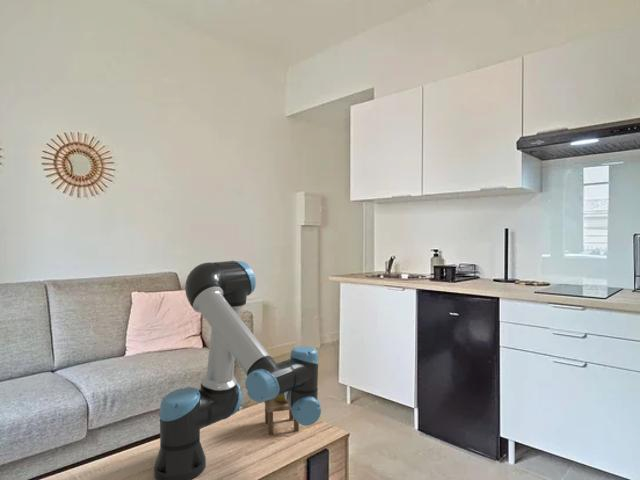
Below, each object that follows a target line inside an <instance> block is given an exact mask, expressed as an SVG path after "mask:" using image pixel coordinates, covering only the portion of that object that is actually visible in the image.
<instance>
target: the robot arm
mask: <svg viewBox="0 0 640 480" xmlns="http://www.w3.org/2000/svg"><path fill="white" fill-rule="evenodd" d="M256 280H257V279H256V275H255V272H254V271H253V269H252V267H251V266H250V265H249V263H247V262H245V261H241V260H239V261H238V260H227V261H216V262H204V263H200V264H199V265H197V266H195V267H194V268H193V269H192V270H191V271H190V272H189V274H188V275H187V277H186V281H185V284H184V287H185V289H184V292H185V296H186V298H187V301H188V303H189V305H190V306H191V308H192V309H193V310H194V311H195V312H196V313H198V314H199V313H200V314H201V315H202V317H204V319H205V320H206V321H207V323H208V324H209V326H210V327H211V330H210V342H209V350H208V359H207V367H206V368H207V369H206V374H205V375H204V376H202V378H201V381H200V387H199V389H197V388H196V387H190V386H189V387H185V388H182V387H181V388H178V389H174V390H173V391H170V392H169V393H167V394H166V395H165V396H164V397H163V398H162V400H161V402H160V406H159V414H158V416H159V438H160V439H159V442H160V443H159V444H160V445H159V449H158V453H157V456H156V460H155V463H154V467H153V475H154V478H155V479H156V480H193V479H194V478H196V477H199V475H201V474H202V473H203V472H204V471H205V469H206V465H207V461H206V459H207V458H206V454H205V451H204V449H203V446H202V443H201V437H200V435H201V429H204V428H206V427H208V426H210V425H213V424H215V423H218V422H220V421H223V420H226V419H228V418H230V417H231V416H233V415H235V414H236V413H237V412H238V411H239V409H240V408H241V406H242V402H243V393H242V391H241V390H242V388H241V386H240V384H239V382H238V381H237V378H236V377H235V376H234V369H235V362H237V363H238V365H239V366H240V368H241V369H242V371H243V372H244V373H245V375H246V376H247V377H246V378H245V383H244V384H245V389H246V390H247V395H248V397H249V399H251V400H252V401H253V402H256V403H263V402H264V401H267V400H270V399H274V398H275V397H276V396H279V395H281V394H283V395H284V397H285V399H286V401H287V403H288V405H289V408H290V410H291V412H292V415H293V417H294V418H295V420H296V421H297V422H298V423H299V425H301V426H306V427H308V426H311V425H314V424H316V423H317V421H318V420H319V419H320V417H321V414H322V407H321V404H320V401H319V399H318V395H319V392H318V391H319V389H318V383H319V382H318V381H319V377H318V376H319V352H318V350H317V349H316V348H315V347H314V346H313V347H312V346H307V345H306V346H305V345H302V346H301V345H300V346H296V347H293V348H292V349H291V351H290V355H289V357H290V358H289V359H286V360H283V361H280V362H278V363H277V362H276V361H275V360H274V358H273V357H271V355H270V354H269V353H268V352H267V350H266V349H265V347H264V346H263V345H262V344H261V343H260V341H259V340H258V338H257V337H256V336H255V335H254V333H253V332H252V331H251V330H250V329H249V327H248V326H247V325H246V324H245V322H244V321H243V320H242V318H241V309H242V308H244V307H245V306H246V304H247V296H250V295H251V294H252V293H253V292H254V291H255V289H256V285H257V281H256Z"/></svg>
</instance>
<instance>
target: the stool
mask: <svg viewBox="0 0 640 480" xmlns="http://www.w3.org/2000/svg"><path fill="white" fill-rule="evenodd" d="M263 402H264V423H265V424H267V425H268V430H267V431H268V435H269V436H273V435H274V412H283V411H288V417H289V418H288V419H289V421H290V422H291V421H293V431H294V432H295V433H296V432H299V431H300V429H299V427H300V424H299V423H298V422H297V421H296V420H295V418H294V417H293V415H292V412H291V410H290V408H289V405H288V403H287V402H279V401H275V400H274V399H270V400H267V401H263Z"/></svg>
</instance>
